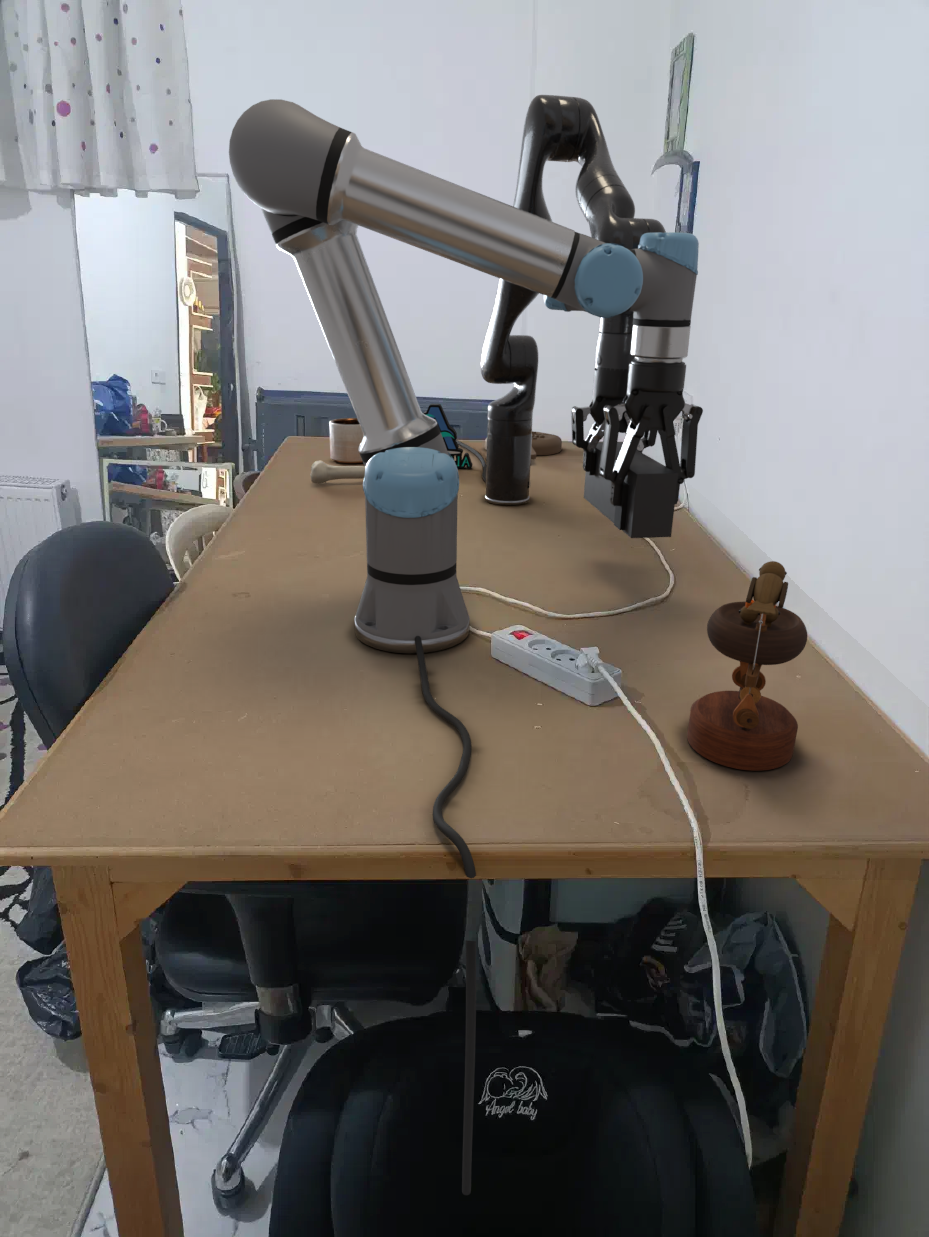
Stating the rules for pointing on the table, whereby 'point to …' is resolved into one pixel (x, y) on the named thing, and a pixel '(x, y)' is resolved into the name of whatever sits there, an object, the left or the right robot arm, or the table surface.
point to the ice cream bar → (543, 444)
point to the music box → (750, 679)
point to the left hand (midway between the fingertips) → (641, 526)
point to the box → (637, 495)
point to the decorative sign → (448, 436)
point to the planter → (345, 440)
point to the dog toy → (335, 472)
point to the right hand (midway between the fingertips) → (611, 473)
